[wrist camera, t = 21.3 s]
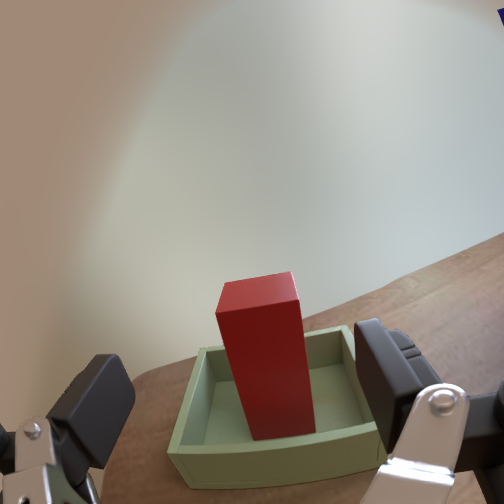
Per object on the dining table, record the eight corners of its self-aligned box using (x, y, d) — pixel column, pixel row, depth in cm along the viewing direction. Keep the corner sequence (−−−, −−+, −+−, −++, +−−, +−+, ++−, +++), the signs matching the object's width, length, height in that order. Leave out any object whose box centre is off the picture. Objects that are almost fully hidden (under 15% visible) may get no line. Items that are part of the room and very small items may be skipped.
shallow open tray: (189, 489, 18) (165, 453, 17) (212, 385, 31) (199, 347, 30) (386, 465, 17) (393, 425, 15) (349, 364, 30) (347, 324, 28)
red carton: (253, 441, 21) (214, 312, 18) (255, 401, 26) (224, 282, 23) (316, 432, 21) (298, 299, 18) (309, 393, 26) (291, 271, 23)
